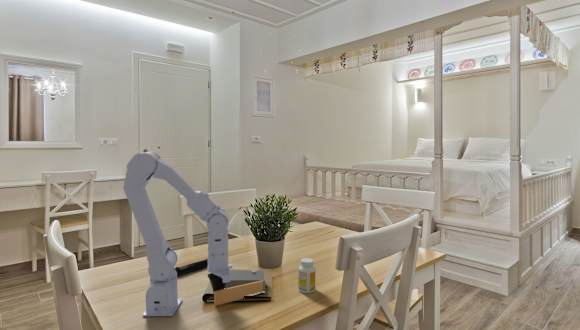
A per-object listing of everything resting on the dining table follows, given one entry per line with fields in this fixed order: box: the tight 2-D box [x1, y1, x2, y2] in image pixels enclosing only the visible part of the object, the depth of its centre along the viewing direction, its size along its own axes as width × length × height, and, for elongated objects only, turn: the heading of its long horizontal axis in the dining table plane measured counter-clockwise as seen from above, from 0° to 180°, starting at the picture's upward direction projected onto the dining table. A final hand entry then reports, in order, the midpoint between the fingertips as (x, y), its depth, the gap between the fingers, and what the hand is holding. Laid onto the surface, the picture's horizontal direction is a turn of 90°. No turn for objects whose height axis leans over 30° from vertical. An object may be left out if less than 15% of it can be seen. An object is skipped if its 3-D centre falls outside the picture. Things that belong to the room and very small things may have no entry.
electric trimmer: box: [174, 258, 208, 278], centre depth 124 cm, size 4×16×3 cm, turn 137°
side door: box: [213, 279, 266, 306], centre depth 101 cm, size 1×16×4 cm, turn 121°
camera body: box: [225, 269, 265, 289], centre depth 110 cm, size 9×12×4 cm
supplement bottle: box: [297, 257, 317, 294], centre depth 108 cm, size 5×5×10 cm
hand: (218, 298), depth 99 cm, fingers closed
